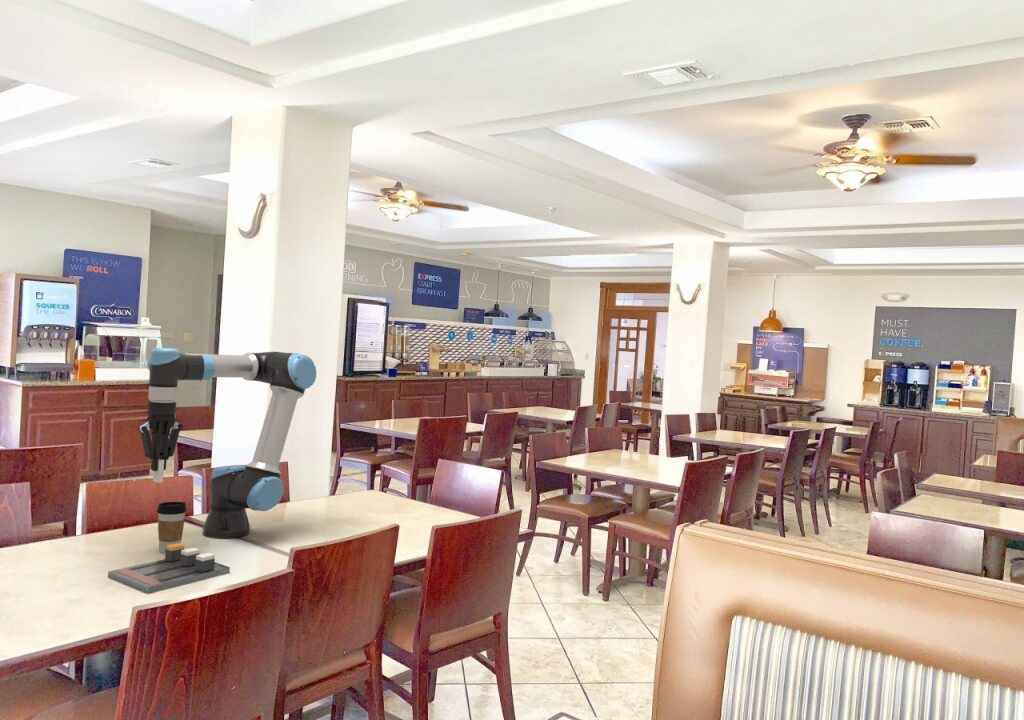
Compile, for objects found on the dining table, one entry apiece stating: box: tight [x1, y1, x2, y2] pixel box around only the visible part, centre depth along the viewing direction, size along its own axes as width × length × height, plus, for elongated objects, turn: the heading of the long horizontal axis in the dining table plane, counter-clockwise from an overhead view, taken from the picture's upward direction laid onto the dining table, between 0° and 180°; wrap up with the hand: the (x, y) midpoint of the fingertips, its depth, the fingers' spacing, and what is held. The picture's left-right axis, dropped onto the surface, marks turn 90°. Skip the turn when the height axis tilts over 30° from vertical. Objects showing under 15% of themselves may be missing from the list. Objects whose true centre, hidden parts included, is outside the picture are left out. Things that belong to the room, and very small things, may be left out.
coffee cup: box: [156, 501, 187, 554], centre depth 237 cm, size 8×8×15 cm
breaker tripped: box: [164, 543, 185, 561], centre depth 224 cm, size 4×3×4 cm
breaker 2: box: [195, 552, 216, 572], centre depth 216 cm, size 4×3×4 cm
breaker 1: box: [180, 547, 201, 566], centre depth 220 cm, size 4×3×4 cm
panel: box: [107, 558, 231, 595], centre depth 215 cm, size 25×19×2 cm
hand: (157, 481), depth 222 cm, fingers closed
